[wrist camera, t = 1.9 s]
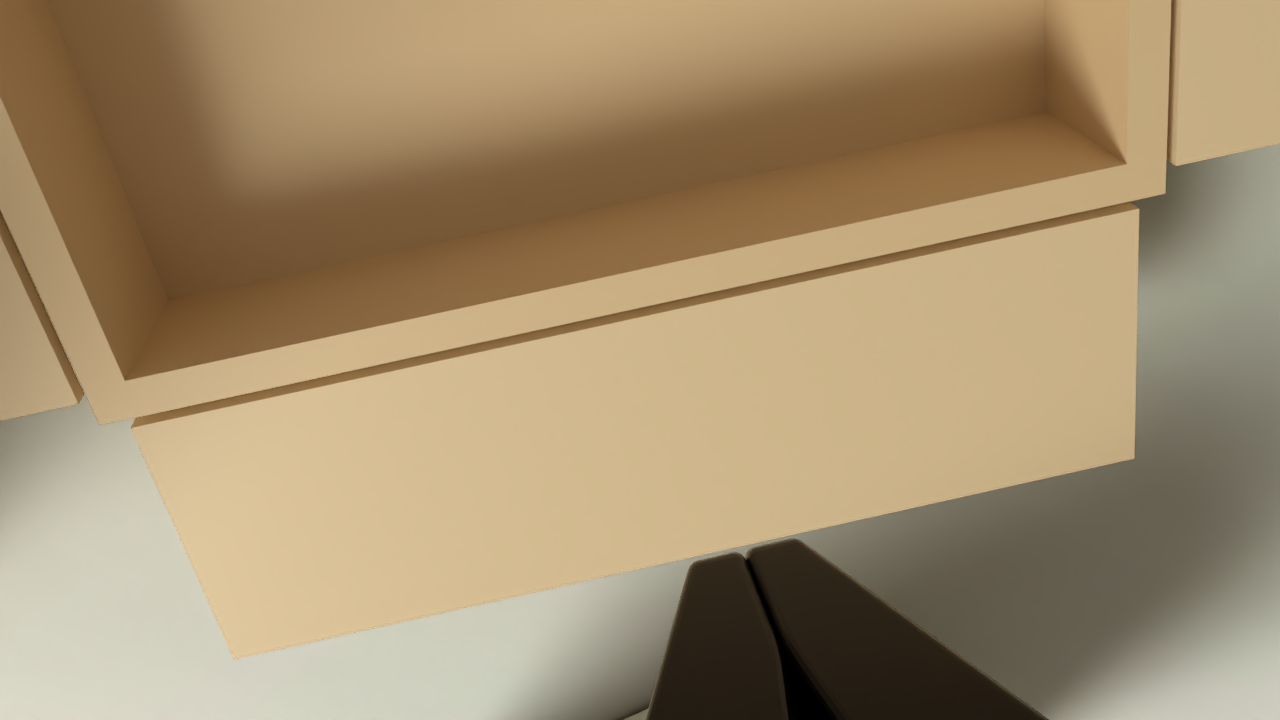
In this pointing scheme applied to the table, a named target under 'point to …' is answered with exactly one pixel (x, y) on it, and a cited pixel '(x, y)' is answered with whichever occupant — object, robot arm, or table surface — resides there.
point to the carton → (586, 268)
